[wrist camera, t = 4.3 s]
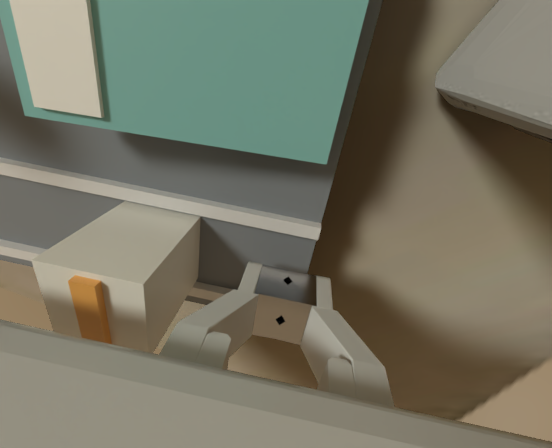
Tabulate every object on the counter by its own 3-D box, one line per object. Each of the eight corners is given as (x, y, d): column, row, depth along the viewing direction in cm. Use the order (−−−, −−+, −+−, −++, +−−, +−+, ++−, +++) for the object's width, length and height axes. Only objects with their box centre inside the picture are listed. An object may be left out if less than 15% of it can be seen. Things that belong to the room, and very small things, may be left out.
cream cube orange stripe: (125, 200, 11) (22, 265, 7) (200, 216, 11) (137, 290, 7) (131, 263, 12) (49, 344, 8) (198, 277, 12) (145, 366, 8)
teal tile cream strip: (51, 111, 8) (19, 116, 7) (4, -121, 6) (-52, -162, 5) (320, 155, 9) (327, 166, 8) (367, -36, 7) (385, -56, 6)
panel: (-323, -193, 9) (-621, -322, 6) (390, -73, 8) (431, -155, 5) (-110, 200, 15) (-204, 227, 13) (296, 287, 15) (291, 336, 12)
